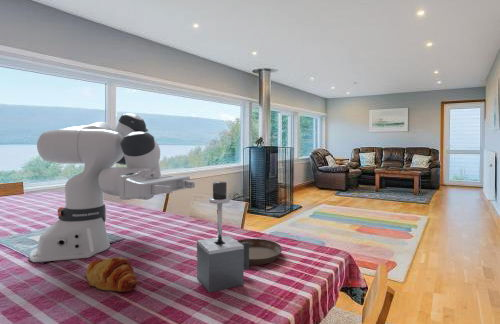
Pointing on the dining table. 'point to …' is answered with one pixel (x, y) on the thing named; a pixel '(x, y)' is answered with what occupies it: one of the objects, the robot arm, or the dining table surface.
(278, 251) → the plant saucer
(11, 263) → the dining table surface
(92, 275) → the croissant
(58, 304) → the dining table surface
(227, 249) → the matte gray cube
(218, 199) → the plunger
